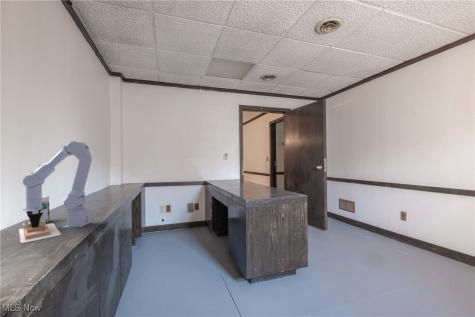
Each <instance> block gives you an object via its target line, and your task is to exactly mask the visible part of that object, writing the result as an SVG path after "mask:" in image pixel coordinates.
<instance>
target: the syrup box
mask: <svg viewBox="0 0 475 317" xmlns="http://www.w3.org/2000/svg"><path fill="white" fill-rule="evenodd" d="M42 207H43V208H42V209H41V211H40V213H41V212H43V214H42V216H41V218H40V220H45V221H46V223H47V222H51V220H50V218H51V216H50V196H49V195H42Z"/></svg>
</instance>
